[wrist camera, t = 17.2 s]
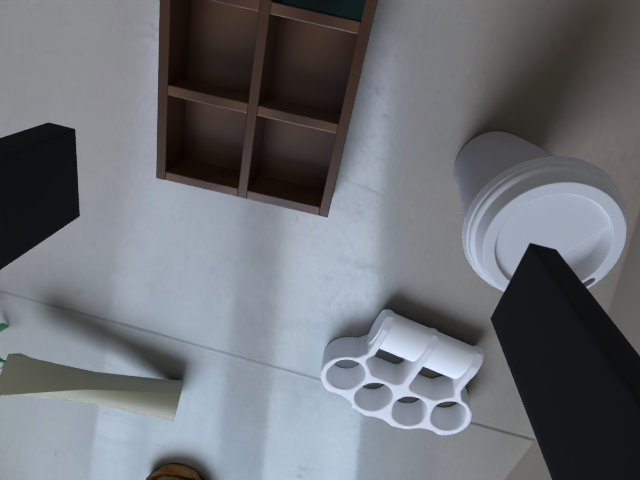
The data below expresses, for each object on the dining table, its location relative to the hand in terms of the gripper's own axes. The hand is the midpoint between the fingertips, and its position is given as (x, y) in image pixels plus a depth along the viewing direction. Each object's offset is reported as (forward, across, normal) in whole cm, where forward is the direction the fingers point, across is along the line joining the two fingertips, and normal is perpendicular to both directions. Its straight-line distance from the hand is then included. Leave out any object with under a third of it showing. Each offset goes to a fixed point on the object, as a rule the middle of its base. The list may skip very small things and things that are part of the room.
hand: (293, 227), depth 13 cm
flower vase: (+28, -28, -37) cm, 55 cm away
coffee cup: (+28, +14, -4) cm, 32 cm away
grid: (+28, -7, +1) cm, 29 cm away
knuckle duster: (+28, +14, -29) cm, 42 cm away
